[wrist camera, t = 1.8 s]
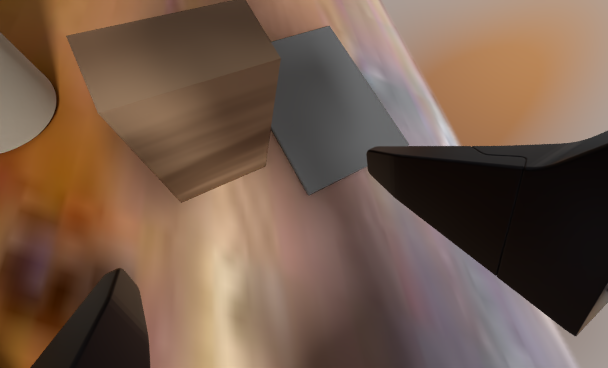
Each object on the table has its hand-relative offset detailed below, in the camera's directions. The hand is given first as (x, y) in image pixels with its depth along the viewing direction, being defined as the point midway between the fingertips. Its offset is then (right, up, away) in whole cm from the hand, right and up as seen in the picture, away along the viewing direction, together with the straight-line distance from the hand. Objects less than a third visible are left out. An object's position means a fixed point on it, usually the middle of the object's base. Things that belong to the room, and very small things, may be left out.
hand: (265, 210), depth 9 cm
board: (-6, +2, +12) cm, 14 cm away
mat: (+3, +9, +16) cm, 19 cm away
